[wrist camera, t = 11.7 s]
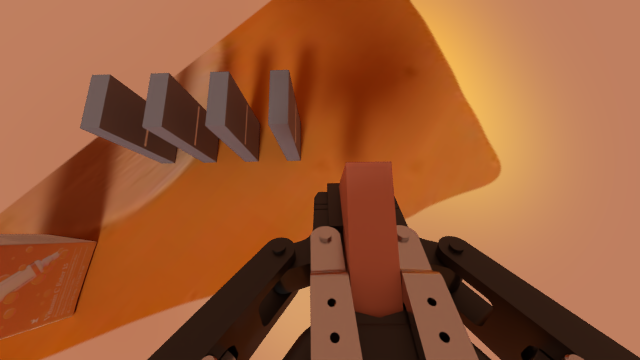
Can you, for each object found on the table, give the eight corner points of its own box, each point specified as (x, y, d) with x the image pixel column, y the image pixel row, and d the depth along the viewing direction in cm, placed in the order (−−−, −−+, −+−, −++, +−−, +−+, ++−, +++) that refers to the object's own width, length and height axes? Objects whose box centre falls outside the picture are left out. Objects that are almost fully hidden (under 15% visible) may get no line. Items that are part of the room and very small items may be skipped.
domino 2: (203, 162, 29) (142, 127, 19) (207, 125, 30) (150, 73, 20) (216, 162, 29) (161, 126, 19) (219, 124, 30) (169, 73, 20)
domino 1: (162, 163, 29) (79, 128, 19) (167, 126, 30) (91, 75, 20) (175, 163, 29) (99, 127, 19) (179, 125, 30) (110, 74, 20)
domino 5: (336, 268, 17) (351, 317, 7) (334, 200, 18) (345, 162, 8) (358, 268, 17) (404, 317, 7) (355, 199, 18) (391, 161, 8)
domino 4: (287, 160, 29) (268, 124, 19) (287, 123, 30) (270, 70, 20) (300, 160, 29) (288, 123, 19) (300, 122, 30) (289, 69, 20)
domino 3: (245, 161, 29) (205, 125, 19) (247, 124, 30) (210, 72, 20) (258, 161, 29) (224, 125, 19) (260, 123, 30) (229, 71, 20)
